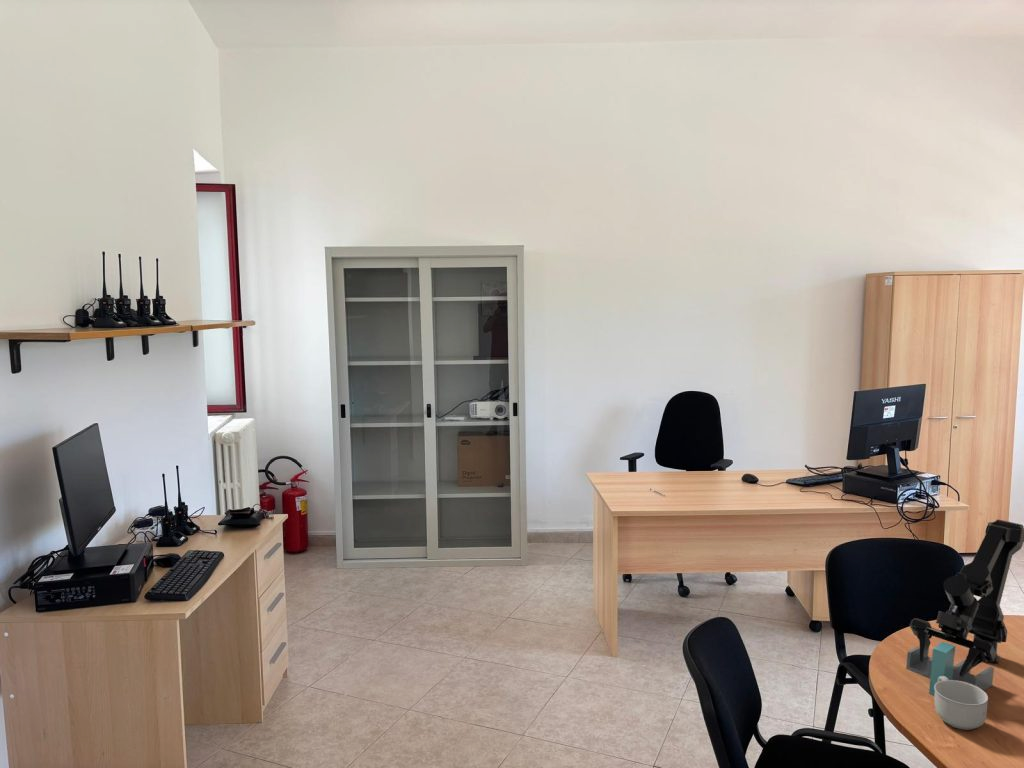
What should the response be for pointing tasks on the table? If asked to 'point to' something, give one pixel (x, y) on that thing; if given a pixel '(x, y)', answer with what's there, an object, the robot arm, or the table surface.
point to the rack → (980, 680)
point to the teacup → (960, 703)
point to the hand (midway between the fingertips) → (940, 668)
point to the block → (941, 663)
